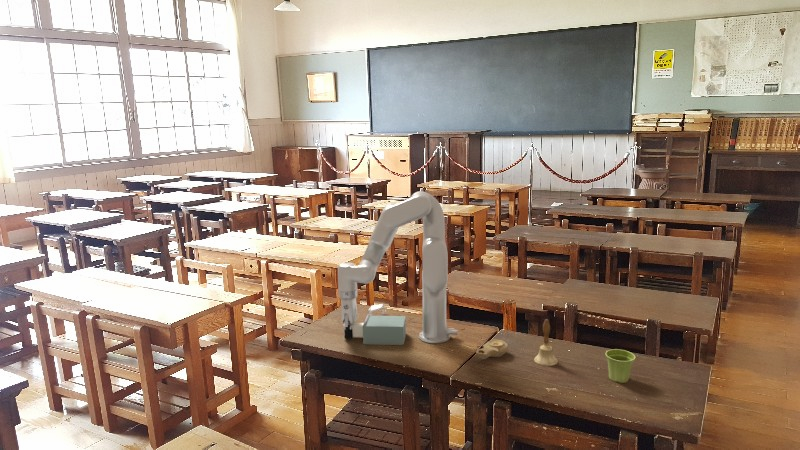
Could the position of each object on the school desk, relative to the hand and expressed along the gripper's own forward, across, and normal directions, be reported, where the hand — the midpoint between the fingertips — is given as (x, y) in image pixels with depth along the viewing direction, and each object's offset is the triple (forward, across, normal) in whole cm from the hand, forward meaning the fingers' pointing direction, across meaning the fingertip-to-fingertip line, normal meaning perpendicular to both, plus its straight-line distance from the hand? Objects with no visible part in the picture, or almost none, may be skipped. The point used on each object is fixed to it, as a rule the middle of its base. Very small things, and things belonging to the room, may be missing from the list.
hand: (349, 336), depth 226 cm
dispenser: (+1, 0, -15) cm, 15 cm away
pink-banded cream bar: (0, 0, -4) cm, 5 cm away
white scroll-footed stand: (+1, +24, -7) cm, 25 cm away
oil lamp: (+1, -15, -57) cm, 59 cm away
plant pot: (+1, -31, -98) cm, 102 cm away
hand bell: (+1, -18, -76) cm, 78 cm away
